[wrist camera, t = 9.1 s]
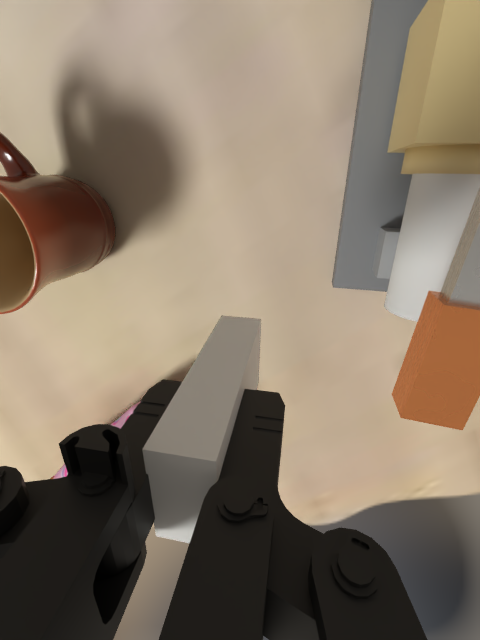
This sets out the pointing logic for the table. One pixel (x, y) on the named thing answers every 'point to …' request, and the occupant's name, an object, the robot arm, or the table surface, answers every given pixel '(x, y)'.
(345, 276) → the valve fixture
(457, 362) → the valve lever
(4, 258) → the mug
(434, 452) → the table surface
